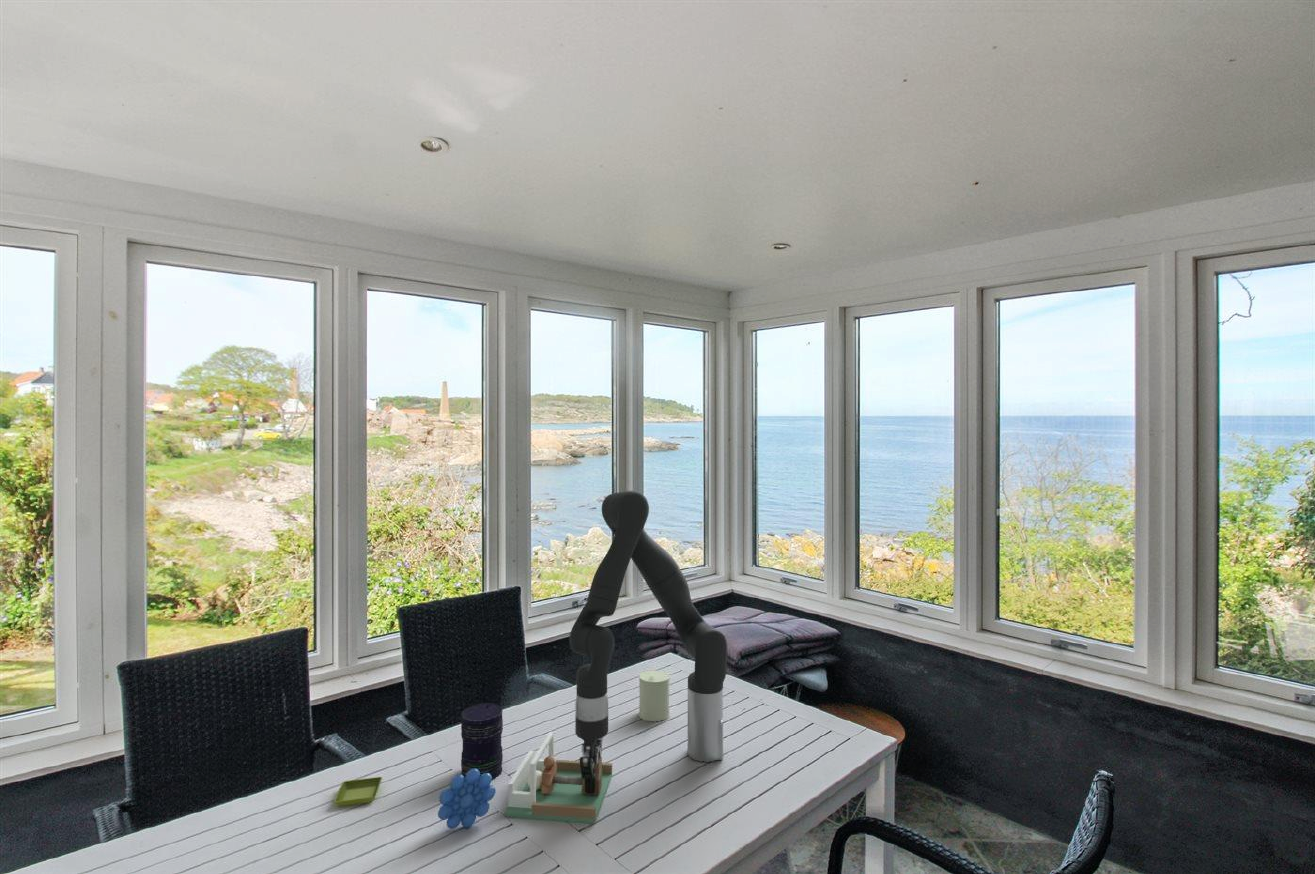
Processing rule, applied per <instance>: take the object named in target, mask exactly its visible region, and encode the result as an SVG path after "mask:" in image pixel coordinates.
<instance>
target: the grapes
mask: <svg viewBox="0 0 1315 874" xmlns="http://www.w3.org/2000/svg"><path fill="white" fill-rule="evenodd" d="M492 782H493V780H492V776H491V775H490V774H489V773H484V774H482V775H481V776H480V772H479V770H478V769H475V768H474V769H471V770H469V771H468V772H467V774H466V777H464V776H463V775H462V774H456V775H455V776H454V777H452V779H451V781H450V783H449V787H450V788H449V787H448V788H445V789H444V790H443V791H441V792H440V795H439V796H438V797H439V803H440V804H441V806H440V807H439V810H438V811H437V817H438V818H439V819H440V820H442V821H445V820H446V826H447V828H448V829H451V830H453V829H456V828H458V826H460V825H461V826H463V828H469V827H472V826H473V825H474V823H475V822H476V819H477V817H479V818H481V817H484V816H485V815H486V814H488V811H489V809H490V803H489V802H490V801H491V800H493V799H494V797H495V794H496V788H495V787H494V785H491V783H492Z"/></svg>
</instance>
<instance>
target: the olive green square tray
mask: <svg viewBox="0 0 1315 874" xmlns="http://www.w3.org/2000/svg"><path fill="white" fill-rule="evenodd" d="M382 780H383V776H377V777H368V778H367V777H366V778H360V779H352V780H351V779H350V780H345V781H342V782H341V785H340V787H339V789H338V791H337V793H336V796H335V798H334V800H333V803H334V804H335V805H336V806H338V807H346V806H347V805H348V806H355V805H361V804H369V803H372V802H373V801H374V800H375V799H376V797H377V794H378V791H379V789H380V786H381V783H382Z"/></svg>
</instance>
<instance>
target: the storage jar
mask: <svg viewBox="0 0 1315 874" xmlns="http://www.w3.org/2000/svg"><path fill="white" fill-rule="evenodd" d="M503 723H504V721H503V707H502V706H501V705H499V704H495V703H492V702H491V703H487V702H486V703H478V704H473V705H470V706H468V707H467V708H465V709H464V710H463V711H461V726H460V729H461V733H460V734H461V735H460V736H461V739H462V751H461V755H460V756H461V760H460V764H461V765H460V766H461V775H463V776H464V777H466V774H467V772H468V771H469V770H471V769H474V768H475V769H478V770H479V772H480V776H481V775H482V774H484V773H489V774H490V775H491V776H492V781H494V780H496V779H497V778H498V776H499V775H500V776H501V775H502V772H503V756H504V755H503V746H502V734H503V729H504V728H503ZM500 776H499V777H500ZM496 777H497V778H496ZM495 778H496V779H495ZM493 779H494V780H493Z"/></svg>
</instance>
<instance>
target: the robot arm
mask: <svg viewBox="0 0 1315 874" xmlns="http://www.w3.org/2000/svg"><path fill="white" fill-rule="evenodd" d="M649 514H650V504H649V501H648V499H647V497H646V496H645V495H644V494H643V493H642V492H640V491H637V490H627V491H626V490H625V491H619V492H613V493H611V494H608V495H607V496H605V498H604V499H603V501H602V504H601V515H602V517H603V520H604V522H605V524H606V525H607V526H608V528H609V529H610V531H611V532H612V534H614V537H613V540H612V543H611V544H610V547H609V548H608V550H607V552H606V554H605V556H603V559H602V560H601V562H600V563H599V565H598V567H597V569H596V570H595V573H594V576H593V577H592V581H591V585H590V588H589V591H588V596H587V598H586V599H587V600H586V602H585V605H584V606H583V607H582V609H581V611H580V613H579V615H578V617H577V619H576V620H575V622H574V624H573V625H572V628H571V631H570V633H569V646H570V648H571V651H573V652H574V653H575V654H578V655H581V656H585V657H589V658H591V662H590V663H587V664H583V665H582V666H580V667H579V668H578V669H577V672H576V693H575V694H576V697H575V705H574V706H575V707H574V708H575V711H574V712H575V714H574V716H575V719H574V720H575V730H574V731H575V736H577V737H578V739H579V738H580V739H581V740H582V741H583V743H581V754H582V756H580V758H579V760H578V761H580V768H581V775H582V778H585V793H590V794H593V793H594V792H595V776H596V773H595V770H596V766H597V764H598V757H602V750H603V739H604V737H606V736H607V735H608V733H609V697H608V696H609V695H608V674H609V670H610V666H611V661H612V658H613V655H614V654H613V653H614V650H615V645H616V644H615V643H616V642H615V636H614V633H613V632H612V630H611V629H610V628H608V627H606V626H602V625H597V624H598V622H599V621H600V620H601V619H602V618H605V617H612V616H613V615H614V614H615V612H616V609H617V606H618V602H619V598H620V594H621V591H622V590H621V589H622V587H623V582H624V578H625V576H626V572H627V569H628V567H629V564H630V562H631V560H632V561H633V564H634V565H635V567H636V568H637V570H638V571H639V573H640V575H641V577H642V578H643V579H644V581H645V583H646V585H647V586H648V588H649V590H650V591H651V593H652V595H653V596H654V598H655V599H656V601H657V602H658V604H659V605H660V607H661V608H662V609H663V611H664V612H665V614H666V615H667V617H668V618H669V620H670V621H671V623H672V625H673V627H674V628H675V631H676V632H677V635H678V637H679V639H680V641H681V644H682V645H683V647H684V649H685V651H686V652H687V653H688V655H690V656H691V657H692V658H694V671H693V672H691V673H690V674H689V675H688V676H687V743H686V744H687V745H686V746H687V755H688V757H690V758H691V759H693V760H694V759H695V761H697V760H699V761H698V762H702V761H704V762H705V763H711V762H716V761H723V759H724V682H725V679H726V676H727V665H728V643H727V639H726V636H725V634H724V633H723V632H722V631H721V630H719V629H718V628H716V627H714V626H713V625H710V624H709V623H708V622H707V621H706V620H705V619H704V618H703V617H702V615H701V614H700V613H699V611H698V609H697V608H696V607H695V604H694V603H693V600H692V598H691V593H690V592H691V591H690V588H689V584H688V581H687V579H686V577H685V575H684V572H682V569H681V568H680V566H679V565H678V563H677V561H676V559H674V557H673V556H672V555H671V554H670V553H669V552H668V551H667V550H666V549H664V547H662V546H661V545H660V544H659V543H658V542H656V541H655V540H654V539H653V538H652V537H651V536H650V535H649V534H648V532H647V531H646V530H645V529H644V528H645V525H646V522H647V520H648V517H649ZM592 760H595V761H592ZM715 760H716V761H715ZM710 761H711V762H710Z"/></svg>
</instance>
